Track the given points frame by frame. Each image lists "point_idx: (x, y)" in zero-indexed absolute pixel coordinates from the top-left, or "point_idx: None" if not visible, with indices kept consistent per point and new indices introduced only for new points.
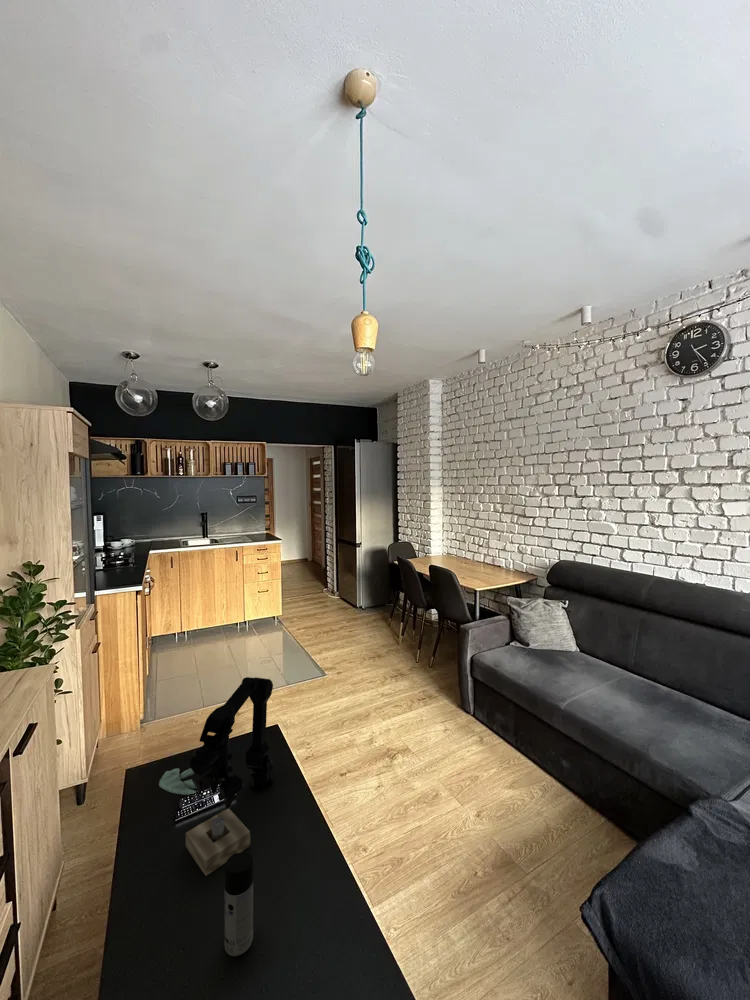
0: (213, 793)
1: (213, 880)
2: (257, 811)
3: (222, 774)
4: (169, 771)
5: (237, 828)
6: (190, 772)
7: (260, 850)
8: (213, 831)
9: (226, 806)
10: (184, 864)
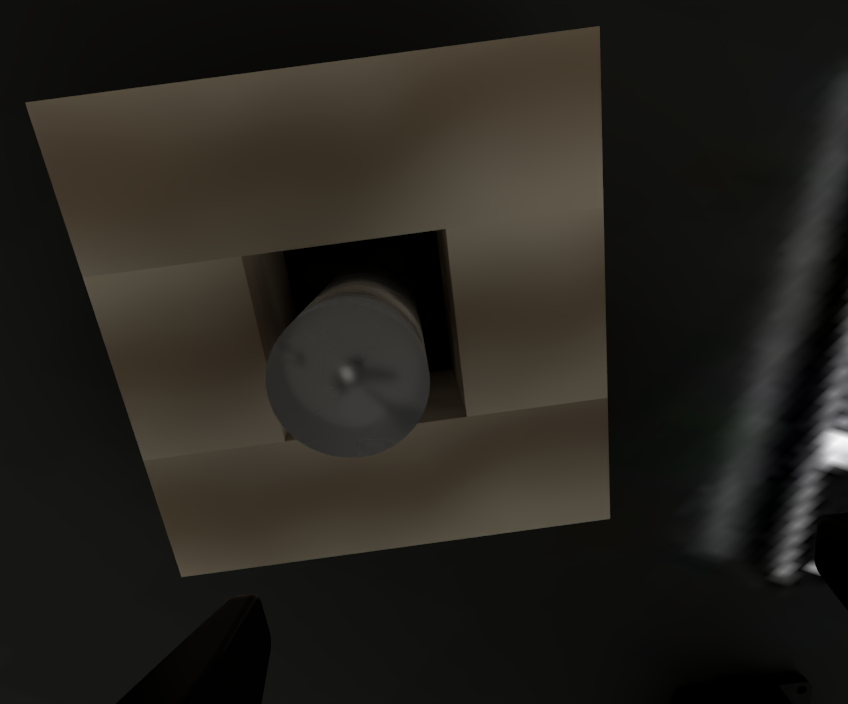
0: (826, 531)
1: None
2: (505, 630)
3: None
4: None
5: (289, 504)
6: None
7: (150, 537)
8: (323, 295)
9: (169, 659)
10: (360, 5)
